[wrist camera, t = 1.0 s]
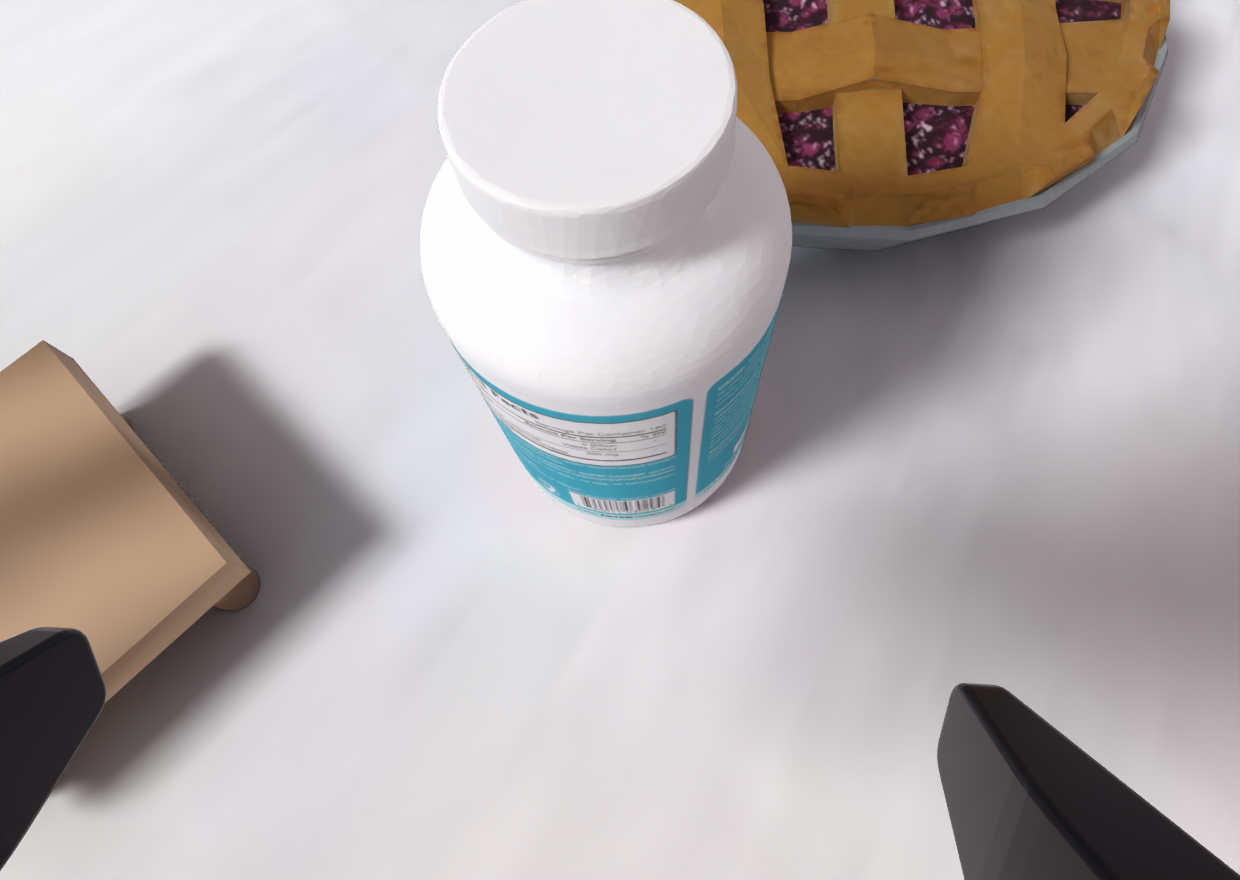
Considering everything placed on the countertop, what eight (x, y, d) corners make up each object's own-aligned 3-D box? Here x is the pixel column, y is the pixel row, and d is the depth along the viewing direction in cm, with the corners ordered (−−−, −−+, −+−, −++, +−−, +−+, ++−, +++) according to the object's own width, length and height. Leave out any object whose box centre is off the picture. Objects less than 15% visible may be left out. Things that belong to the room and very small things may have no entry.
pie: (572, 322, 25) (551, 232, 21) (551, -82, 33) (533, -212, 29) (1199, 266, 25) (1324, 160, 20) (1023, -131, 33) (1083, -272, 28)
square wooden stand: (290, 586, 22) (226, 562, 19) (4, 849, 20) (-126, 876, 16) (123, 389, 25) (42, 340, 22) (-144, 599, 23) (-279, 580, 19)
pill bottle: (662, 291, 25) (663, -135, 13) (789, 455, 23) (945, 128, 10) (477, 396, 24) (276, 43, 12) (589, 581, 22) (487, 387, 9)
